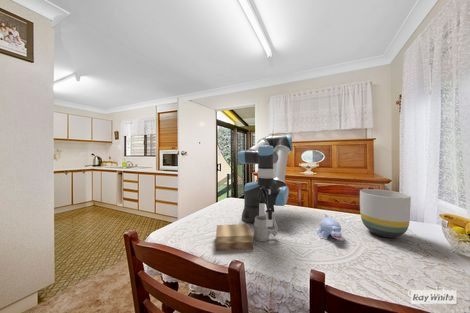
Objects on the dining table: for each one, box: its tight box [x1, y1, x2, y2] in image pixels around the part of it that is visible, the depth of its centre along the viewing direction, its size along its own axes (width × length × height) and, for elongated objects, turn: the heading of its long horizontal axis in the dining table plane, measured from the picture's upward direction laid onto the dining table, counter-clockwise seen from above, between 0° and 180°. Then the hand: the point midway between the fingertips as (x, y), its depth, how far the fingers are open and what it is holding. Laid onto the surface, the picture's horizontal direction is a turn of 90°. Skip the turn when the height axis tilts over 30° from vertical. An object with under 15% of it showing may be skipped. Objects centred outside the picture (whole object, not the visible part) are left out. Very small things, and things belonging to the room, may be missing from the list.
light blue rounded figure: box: [316, 213, 345, 241], centre depth 85 cm, size 11×15×10 cm
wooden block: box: [215, 223, 254, 252], centre depth 81 cm, size 16×12×6 cm
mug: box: [252, 213, 279, 242], centre depth 85 cm, size 8×12×12 cm, turn 82°
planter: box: [359, 188, 412, 239], centre depth 88 cm, size 20×20×21 cm
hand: (265, 220), depth 84 cm, fingers open, 13 cm apart
